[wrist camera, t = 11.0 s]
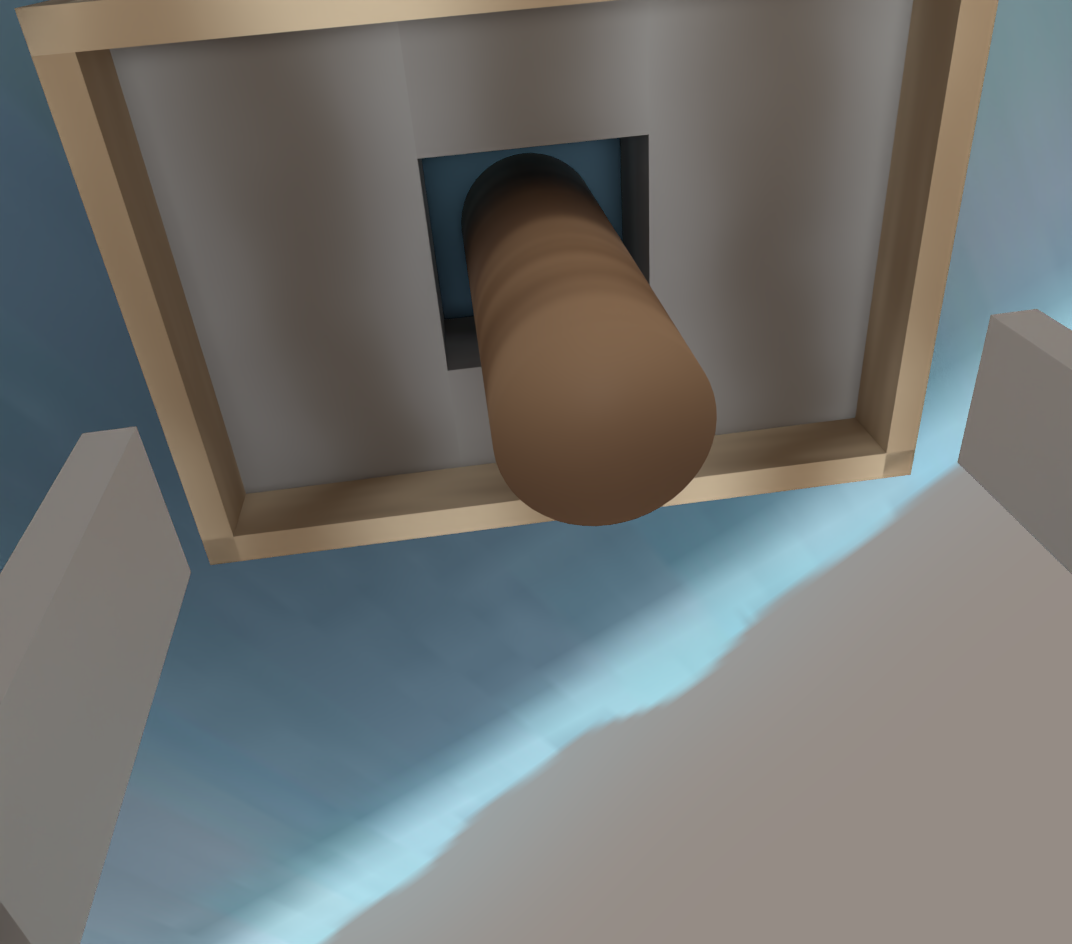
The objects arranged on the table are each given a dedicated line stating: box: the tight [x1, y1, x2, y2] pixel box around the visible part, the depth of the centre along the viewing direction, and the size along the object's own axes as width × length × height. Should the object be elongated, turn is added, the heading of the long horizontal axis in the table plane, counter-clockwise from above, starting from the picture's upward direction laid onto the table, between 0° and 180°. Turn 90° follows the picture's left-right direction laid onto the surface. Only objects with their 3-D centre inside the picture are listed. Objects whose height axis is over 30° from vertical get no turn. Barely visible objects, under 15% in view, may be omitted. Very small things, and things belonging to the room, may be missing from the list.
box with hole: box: [15, 0, 998, 565], centre depth 22 cm, size 19×13×6 cm
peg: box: [461, 153, 717, 526], centre depth 20 cm, size 4×4×12 cm
